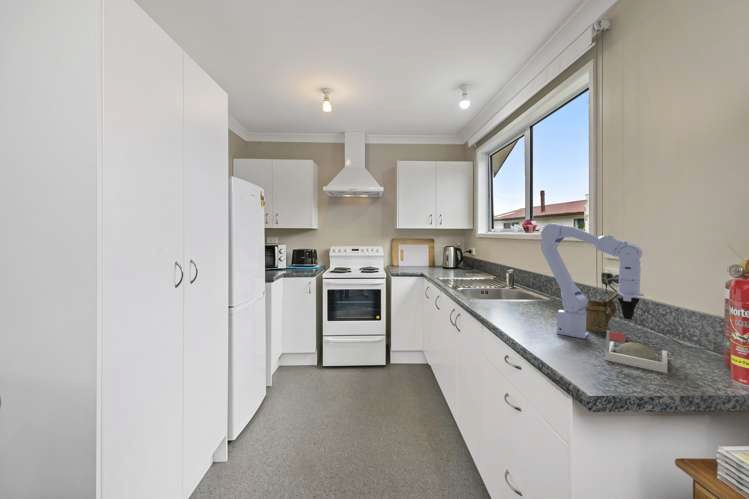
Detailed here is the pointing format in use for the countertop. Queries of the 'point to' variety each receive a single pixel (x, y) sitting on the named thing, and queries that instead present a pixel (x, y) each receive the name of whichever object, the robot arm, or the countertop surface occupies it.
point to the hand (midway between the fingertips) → (627, 318)
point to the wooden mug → (600, 314)
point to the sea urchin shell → (637, 351)
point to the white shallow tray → (630, 359)
